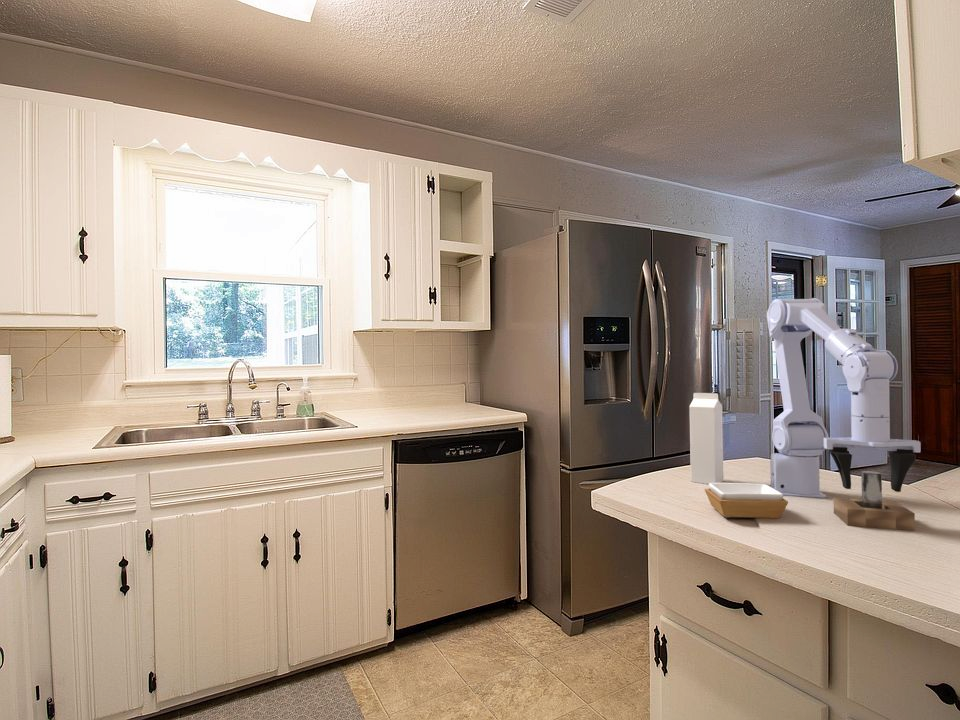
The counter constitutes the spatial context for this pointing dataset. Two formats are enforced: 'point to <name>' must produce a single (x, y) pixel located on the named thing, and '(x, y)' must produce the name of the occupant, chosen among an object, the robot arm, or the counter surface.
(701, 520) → the counter surface
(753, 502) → the soap dish
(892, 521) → the block
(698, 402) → the milk
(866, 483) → the peg
